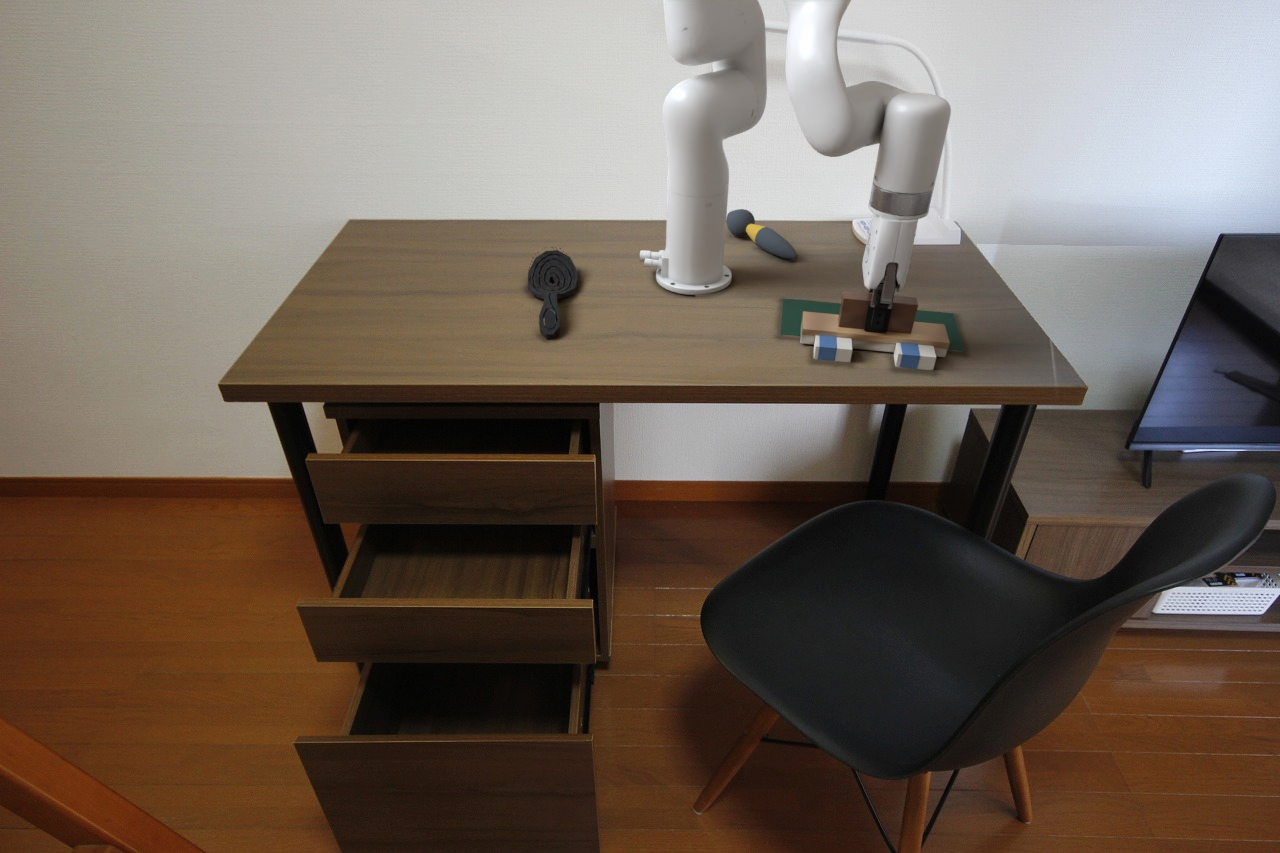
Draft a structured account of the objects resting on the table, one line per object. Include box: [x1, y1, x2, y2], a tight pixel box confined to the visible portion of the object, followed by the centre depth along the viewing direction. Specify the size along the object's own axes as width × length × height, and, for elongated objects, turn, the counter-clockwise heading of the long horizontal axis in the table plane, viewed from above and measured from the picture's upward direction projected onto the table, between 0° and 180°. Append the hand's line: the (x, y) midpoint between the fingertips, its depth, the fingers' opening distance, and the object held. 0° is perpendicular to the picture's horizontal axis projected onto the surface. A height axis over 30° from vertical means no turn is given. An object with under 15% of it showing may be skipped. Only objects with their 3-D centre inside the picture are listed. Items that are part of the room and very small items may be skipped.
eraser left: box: [813, 335, 854, 363], centre depth 109 cm, size 5×3×2 cm, turn 80°
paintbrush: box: [726, 208, 798, 261], centre depth 141 cm, size 20×5×5 cm, turn 38°
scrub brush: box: [799, 290, 950, 358], centre depth 110 cm, size 20×5×7 cm, turn 80°
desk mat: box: [779, 298, 966, 353], centre depth 117 cm, size 26×12×1 cm, turn 79°
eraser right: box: [893, 343, 937, 371], centre depth 108 cm, size 5×3×2 cm, turn 80°
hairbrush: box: [527, 246, 579, 340], centre depth 123 cm, size 8×4×25 cm
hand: (874, 324), depth 111 cm, fingers closed on scrub brush, 2 cm apart
